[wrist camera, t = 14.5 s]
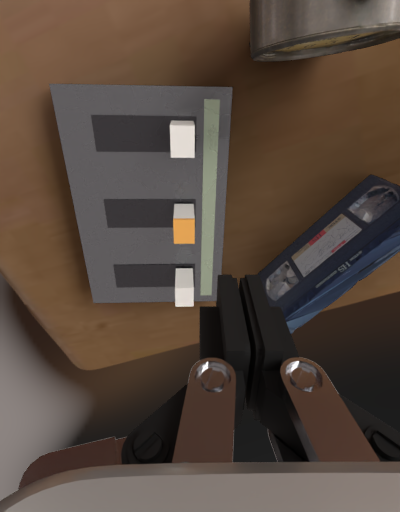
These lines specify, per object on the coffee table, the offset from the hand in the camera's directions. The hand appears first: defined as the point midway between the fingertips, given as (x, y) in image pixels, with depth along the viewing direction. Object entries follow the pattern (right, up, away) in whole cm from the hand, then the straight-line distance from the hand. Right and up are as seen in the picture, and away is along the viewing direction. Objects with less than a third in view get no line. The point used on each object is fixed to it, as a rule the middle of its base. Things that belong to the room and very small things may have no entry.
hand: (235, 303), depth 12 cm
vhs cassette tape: (+13, +5, +26) cm, 29 cm away
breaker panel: (-7, +8, +22) cm, 25 cm away
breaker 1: (-3, +13, +16) cm, 21 cm away
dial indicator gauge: (+7, +23, +15) cm, 28 cm away
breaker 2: (-3, -1, +24) cm, 24 cm away
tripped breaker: (-3, +6, +20) cm, 21 cm away
